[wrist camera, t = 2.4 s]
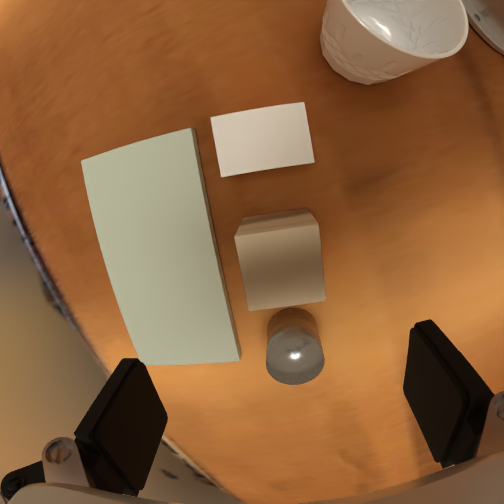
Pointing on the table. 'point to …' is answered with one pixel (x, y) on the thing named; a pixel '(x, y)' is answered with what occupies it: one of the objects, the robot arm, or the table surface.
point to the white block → (262, 139)
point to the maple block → (281, 259)
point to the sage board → (162, 250)
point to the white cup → (390, 36)
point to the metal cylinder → (293, 347)
